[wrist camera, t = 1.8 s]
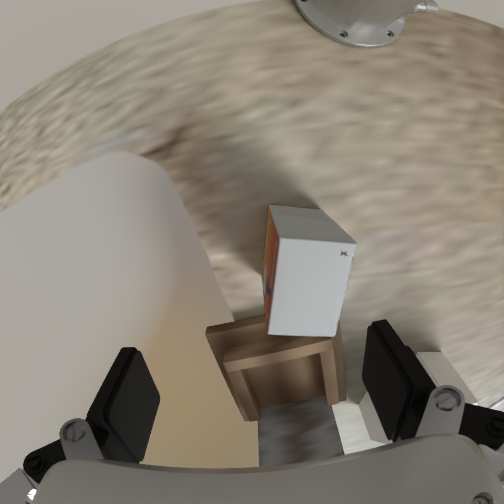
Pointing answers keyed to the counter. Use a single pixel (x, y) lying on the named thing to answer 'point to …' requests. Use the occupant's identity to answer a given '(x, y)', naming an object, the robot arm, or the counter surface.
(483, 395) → the counter surface
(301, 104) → the counter surface
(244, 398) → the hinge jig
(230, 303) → the counter surface
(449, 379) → the corner bracket
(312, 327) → the small box
